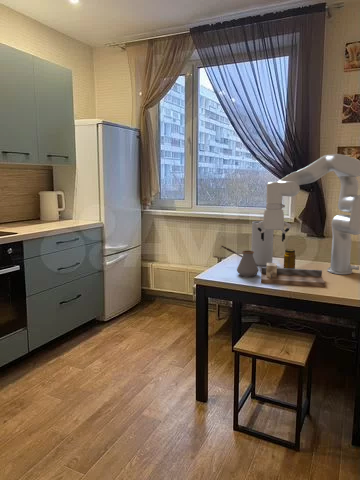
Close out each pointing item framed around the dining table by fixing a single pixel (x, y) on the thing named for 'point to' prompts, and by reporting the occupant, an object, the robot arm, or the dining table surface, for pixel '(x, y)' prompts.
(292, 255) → the condiment
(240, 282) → the dining table surface
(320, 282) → the board
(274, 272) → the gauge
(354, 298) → the dining table surface
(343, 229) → the robot arm
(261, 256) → the cylinder vase
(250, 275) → the coffee pot
